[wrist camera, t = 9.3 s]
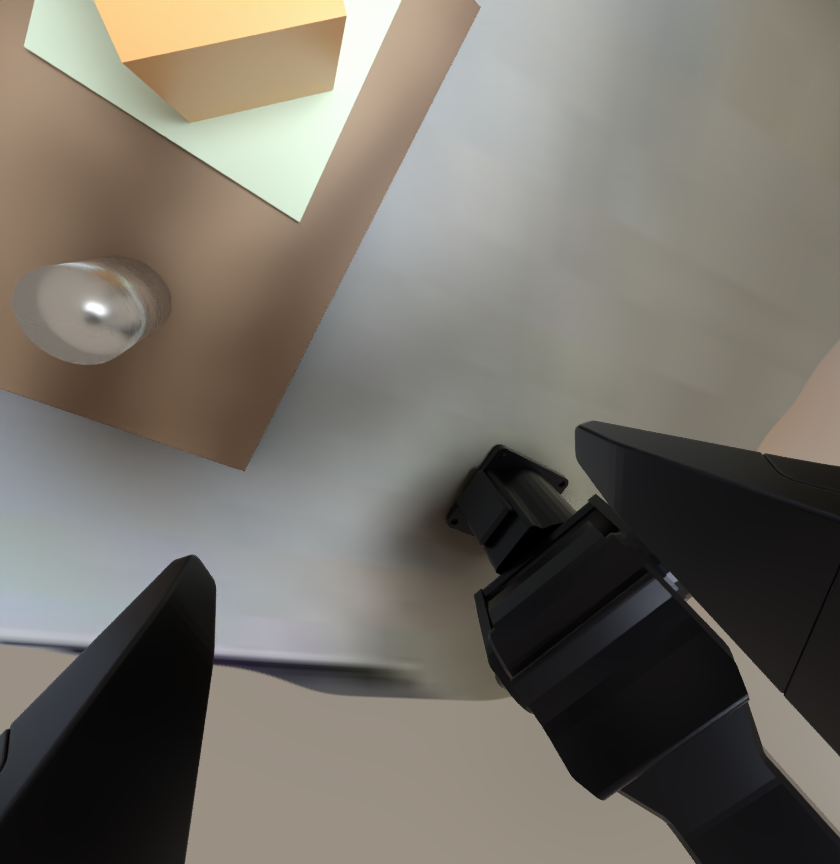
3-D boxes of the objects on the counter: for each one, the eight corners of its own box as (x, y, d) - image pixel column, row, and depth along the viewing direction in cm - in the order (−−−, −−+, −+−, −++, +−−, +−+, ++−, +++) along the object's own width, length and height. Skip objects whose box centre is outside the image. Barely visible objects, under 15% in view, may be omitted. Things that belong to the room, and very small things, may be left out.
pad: (411, -21, 14) (413, -27, 14) (299, 222, 17) (299, 222, 16) (121, -322, 10) (115, -341, 10) (31, 51, 13) (23, 46, 12)
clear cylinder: (182, 282, 17) (144, 299, 13) (157, 345, 17) (114, 380, 13) (98, 239, 15) (26, 243, 11) (75, 310, 16) (1, 336, 12)
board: (471, 19, 16) (480, 7, 15) (246, 461, 22) (244, 471, 21) (35, -447, 10) (9, -511, 9) (-111, 336, 16) (-135, 342, 15)
